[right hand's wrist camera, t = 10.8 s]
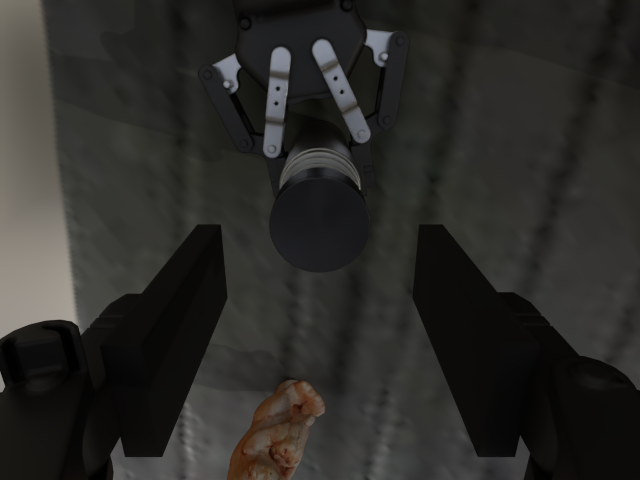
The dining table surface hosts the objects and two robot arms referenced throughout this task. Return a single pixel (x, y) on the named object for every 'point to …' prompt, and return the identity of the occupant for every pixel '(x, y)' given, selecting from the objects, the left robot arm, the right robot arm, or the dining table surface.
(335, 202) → the cap
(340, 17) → the left robot arm
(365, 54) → the dining table surface
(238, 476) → the orange-brown lumpy piece
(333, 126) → the bottle
